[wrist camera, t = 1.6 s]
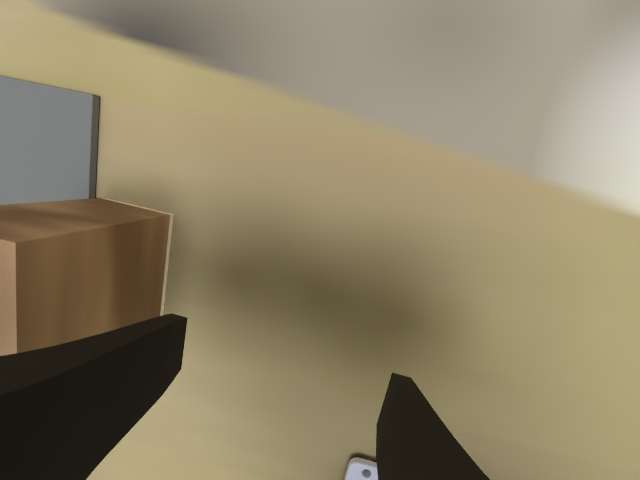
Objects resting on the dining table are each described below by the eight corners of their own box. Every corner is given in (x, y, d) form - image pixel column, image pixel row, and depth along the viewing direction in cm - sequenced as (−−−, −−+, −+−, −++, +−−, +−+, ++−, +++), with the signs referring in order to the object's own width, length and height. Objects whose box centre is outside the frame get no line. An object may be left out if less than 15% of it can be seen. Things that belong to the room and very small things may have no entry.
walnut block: (173, 214, 16) (15, 243, 9) (163, 317, 17) (17, 417, 10) (104, 197, 16) (-104, 211, 9) (99, 300, 18) (-87, 385, 10)
